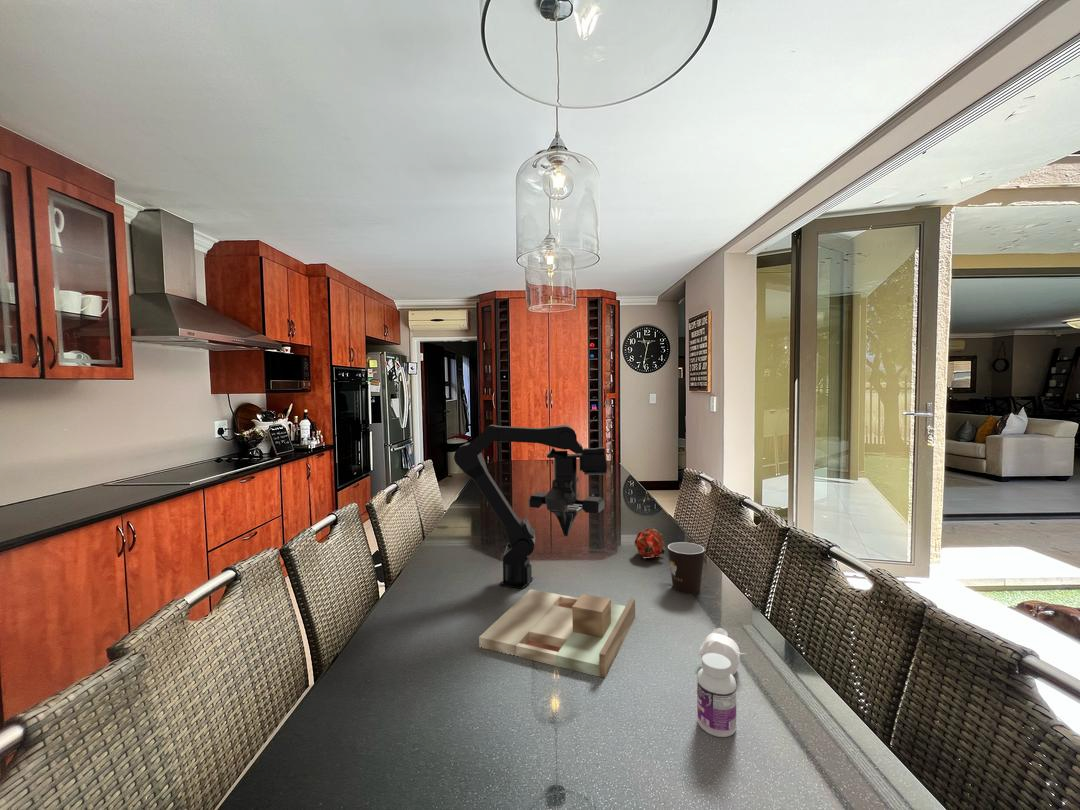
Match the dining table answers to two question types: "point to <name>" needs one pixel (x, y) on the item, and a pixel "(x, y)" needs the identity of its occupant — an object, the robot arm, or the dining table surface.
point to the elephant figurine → (722, 647)
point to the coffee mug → (686, 566)
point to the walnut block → (591, 615)
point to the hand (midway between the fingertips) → (566, 535)
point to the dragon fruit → (650, 543)
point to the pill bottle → (716, 696)
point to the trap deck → (557, 633)
